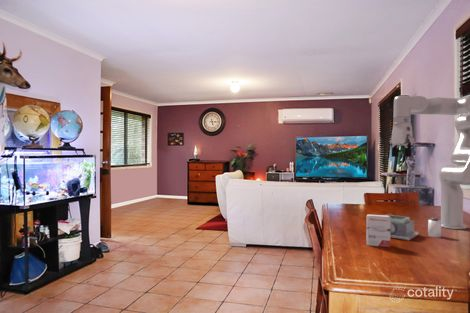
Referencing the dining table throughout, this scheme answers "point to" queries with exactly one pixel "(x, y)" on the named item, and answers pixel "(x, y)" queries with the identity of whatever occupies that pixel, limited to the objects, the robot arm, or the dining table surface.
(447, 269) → the dining table surface
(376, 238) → the ink box
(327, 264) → the dining table surface
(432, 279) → the dining table surface
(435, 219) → the white cylinder
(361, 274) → the dining table surface
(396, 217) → the motor
